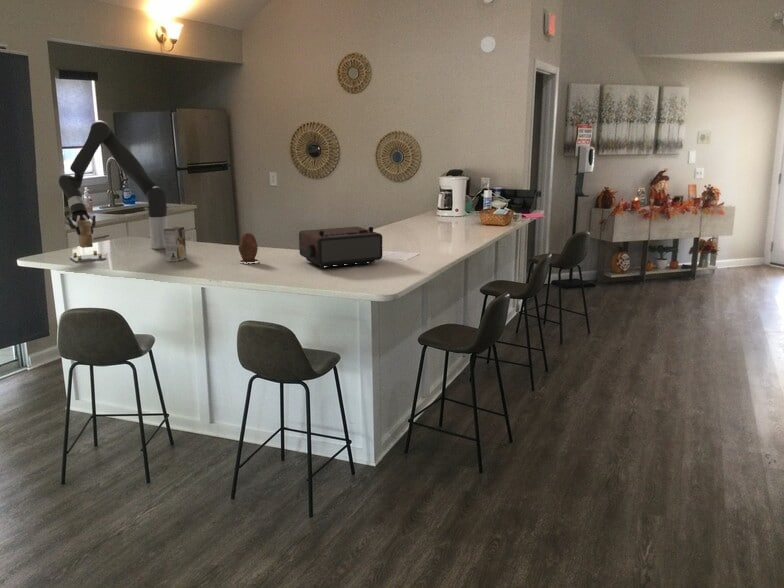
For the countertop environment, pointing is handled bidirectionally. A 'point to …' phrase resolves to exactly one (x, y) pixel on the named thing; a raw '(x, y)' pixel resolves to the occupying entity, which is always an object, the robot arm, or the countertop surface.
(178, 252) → the coffee box
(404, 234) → the countertop surface
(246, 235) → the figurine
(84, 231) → the walnut block
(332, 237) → the radio receiver
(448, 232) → the countertop surface
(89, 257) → the dock
